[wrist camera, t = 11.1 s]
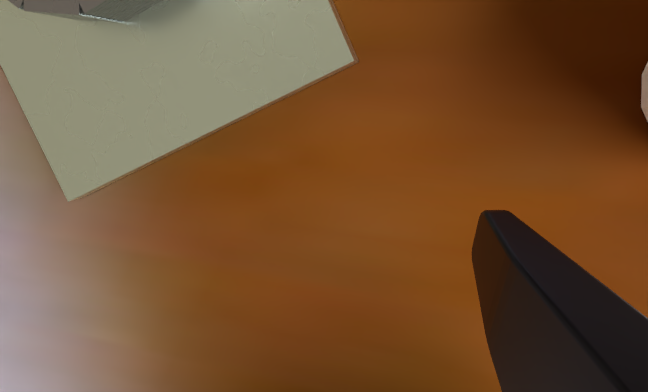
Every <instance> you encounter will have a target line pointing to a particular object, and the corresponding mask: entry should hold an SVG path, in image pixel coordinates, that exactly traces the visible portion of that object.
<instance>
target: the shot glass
mask: <svg viewBox="0 0 648 392" xmlns="http://www.w3.org/2000/svg"><path fill="white" fill-rule="evenodd" d="M641 108H642V111H643V113H644V115H645V117H646V120H647V122H648V62H647V64H646V67H645V69H644V71H643V73H642V88H641Z"/></svg>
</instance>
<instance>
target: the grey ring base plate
mask: <svg viewBox="0 0 648 392" xmlns="http://www.w3.org/2000/svg"><path fill="white" fill-rule="evenodd" d="M358 62H359V60H358V58H357V56H356V53H355V51H354V49H353V47H352V44H351V42H350V40H349V37H348V35H347V33H346V30H345V28H344V26H343V23H342V21H341V19H340V16H339V14H338V12H337V10H336V7H335V5H334V3H333V0H0V65H1V67H2V69H3V71H4V73H5V75H6V77H7V79H8V81H9V83H10V85H11V87H12V89H13V91H14V93H15V95H16V97H17V99H18V101H19V104H20V106H21V108H22V110H23V112H24V114H25V116H26V118H27V120H28V122H29V124H30V126H31V128H32V130H33V132H34V134H35V136H36V138H37V140H38V142H39V144H40V146H41V148H42V150H43V152H44V154H45V156H46V158H47V160H48V162H49V164H50V166H51V168H52V170H53V172H54V174H55V176H56V178H57V180H58V182H59V184H60V186H61V188H62V190H63V192H64V194H65V197H66V199H67V201H68V202H69V201H73V200H76V199H79V198H83V197H85V196H87V195H89V194H91V193H93V192H95V191H97V190H99V189H101V188H103V187H105V186H107V185H109V184H112V183H114V182H116V181H118V180H120V179H122V178H124V177H126V176H128V175H130V174H132V173H134V172H136V171H138V170H140V169H142V168H144V167H146V166H148V165H150V164H152V163H154V162H156V161H158V160H160V159H162V158H164V157H166V156H169V155H171V154H173V153H175V152H177V151H179V150H181V149H183V148H185V147H187V146H189V145H191V144H193V143H195V142H197V141H199V140H201V139H203V138H205V137H207V136H209V135H211V134H213V133H215V132H217V131H219V130H221V129H224V128H226V127H228V126H230V125H232V124H234V123H236V122H238V121H240V120H242V119H244V118H246V117H248V116H250V115H252V114H254V113H256V112H258V111H260V110H262V109H264V108H266V107H268V106H270V105H272V104H274V103H276V102H278V101H281V100H283V99H285V98H287V97H289V96H291V95H293V94H295V93H297V92H299V91H301V90H303V89H305V88H307V87H309V86H311V85H313V84H315V83H317V82H319V81H321V80H323V79H325V78H327V77H329V76H331V75H333V74H336V73H338V72H340V71H342V70H344V69H346V68H348V67H350V66H352V65H354V64H356V63H358Z"/></svg>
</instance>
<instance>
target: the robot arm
mask: <svg viewBox="0 0 648 392" xmlns="http://www.w3.org/2000/svg"><path fill="white" fill-rule="evenodd" d="M472 262H473V268H474V273H475V279H476V284H477V290H478V295H479V301H480V307H481V312H482V318H483V323H484V329H485V334H486V338H487V343H488V347H489V350H490V354H491V357H492V360H493V364H494V367H495V370H496V373H497V377H498V380H499V383H500V386H501V390H502V392H648V318H647V317H645V316H644V315H643V314H641V313H640V312H639V311H638V310H636V309H635V308H634V307H632V306H631V305H630V304H629V303H627V302H626V301H625V300H623V299H622V298H621V297H619V296H618V295H617V294H616V293H614V292H613V291H612V290H610V289H609V288H608V287H607V286H605V285H604V284H603V283H601V282H600V281H599V280H597V279H596V278H595V277H594V276H592V275H591V274H590V273H588V272H587V271H586V270H584V269H583V268H582V267H581V266H579V265H578V264H577V263H575V262H574V261H573V260H572V259H570V258H569V257H568V256H566V255H565V254H564V253H562V252H561V251H560V250H559V249H557V248H556V247H555V246H553V245H552V244H551V243H550V242H548V241H547V240H546V239H544V238H543V237H542V236H540V235H539V234H538V233H537V232H535V231H534V230H533V229H531V228H530V227H529V226H527V225H526V224H525V223H524V222H522V221H521V220H520V219H518V218H517V217H516V216H515V215H513V214H512V213H510V212H509V211H507V210H485V211H483V212H482V213H481V215H480V217H479V221H478V225H477V229H476V234H475V238H474V242H473V247H472Z"/></svg>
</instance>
